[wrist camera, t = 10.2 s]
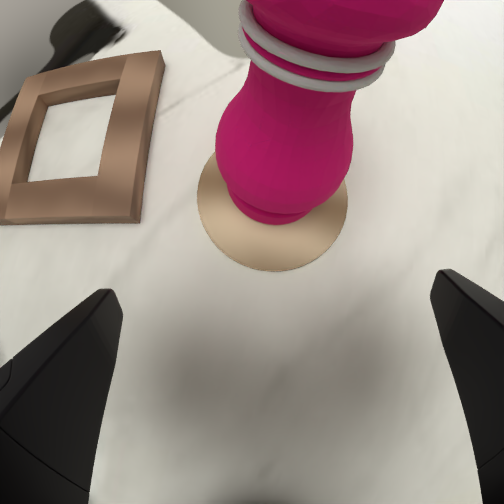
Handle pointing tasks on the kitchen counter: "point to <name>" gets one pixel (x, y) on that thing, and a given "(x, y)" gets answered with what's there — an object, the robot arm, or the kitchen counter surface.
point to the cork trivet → (266, 227)
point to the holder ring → (114, 150)
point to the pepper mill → (304, 97)
